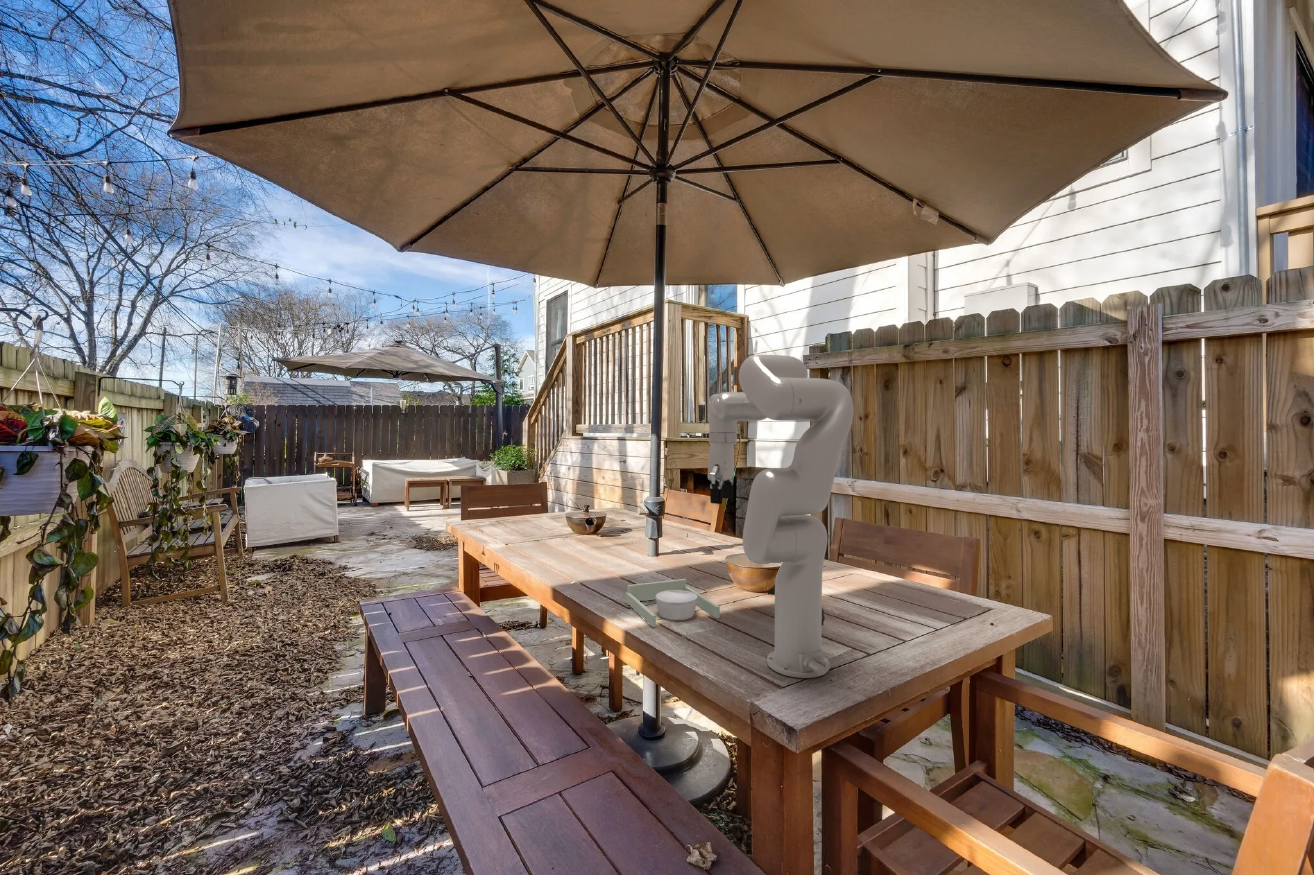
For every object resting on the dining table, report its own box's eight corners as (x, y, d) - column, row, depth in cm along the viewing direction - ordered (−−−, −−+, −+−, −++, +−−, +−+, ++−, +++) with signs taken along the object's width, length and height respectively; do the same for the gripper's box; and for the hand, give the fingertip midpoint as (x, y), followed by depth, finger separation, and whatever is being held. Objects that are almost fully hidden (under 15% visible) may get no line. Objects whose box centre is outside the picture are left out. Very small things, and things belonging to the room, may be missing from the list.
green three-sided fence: (719, 618, 143) (719, 599, 143) (652, 627, 136) (652, 607, 136) (686, 595, 163) (686, 578, 163) (625, 602, 156) (625, 585, 156)
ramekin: (698, 609, 151) (698, 590, 151) (697, 623, 140) (697, 603, 140) (657, 607, 152) (657, 589, 152) (653, 622, 141) (653, 601, 141)
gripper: (719, 437, 160) (718, 495, 161) (699, 439, 144) (698, 504, 145) (744, 438, 157) (743, 497, 157) (726, 440, 141) (725, 506, 142)
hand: (721, 500), depth 151 cm, fingers open, 9 cm apart
